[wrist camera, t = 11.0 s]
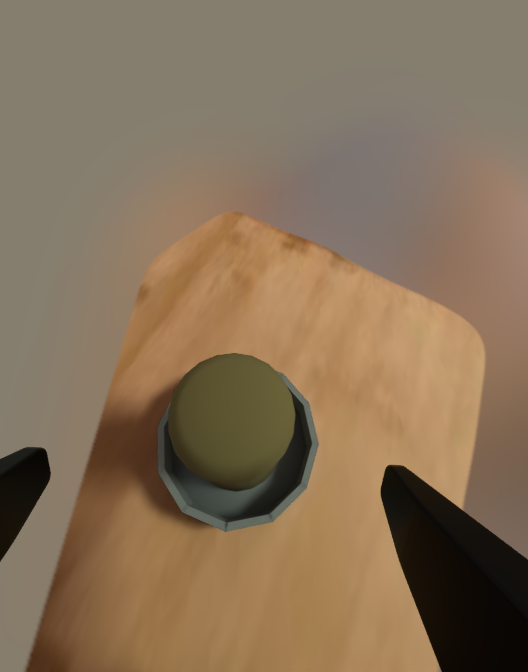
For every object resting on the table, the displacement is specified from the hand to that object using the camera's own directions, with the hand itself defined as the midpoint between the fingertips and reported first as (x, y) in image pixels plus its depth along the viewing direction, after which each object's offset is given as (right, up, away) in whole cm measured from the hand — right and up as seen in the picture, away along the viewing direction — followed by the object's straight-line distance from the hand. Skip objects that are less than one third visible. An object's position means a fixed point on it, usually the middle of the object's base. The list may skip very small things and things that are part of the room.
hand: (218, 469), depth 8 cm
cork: (-1, -4, +13) cm, 14 cm away
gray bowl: (-1, -4, +13) cm, 14 cm away
